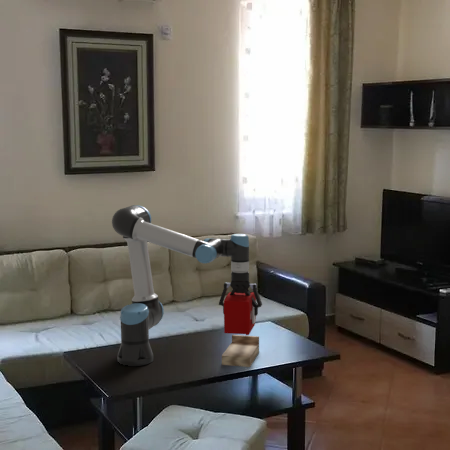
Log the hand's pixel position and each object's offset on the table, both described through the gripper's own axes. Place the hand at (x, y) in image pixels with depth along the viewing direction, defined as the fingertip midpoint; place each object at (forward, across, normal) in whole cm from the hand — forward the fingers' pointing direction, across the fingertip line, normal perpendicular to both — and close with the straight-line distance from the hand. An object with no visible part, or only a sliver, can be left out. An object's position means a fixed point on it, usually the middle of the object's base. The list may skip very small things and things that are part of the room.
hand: (240, 322), depth 291 cm
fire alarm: (+3, 0, 0) cm, 3 cm away
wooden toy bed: (+16, 0, +2) cm, 16 cm away
